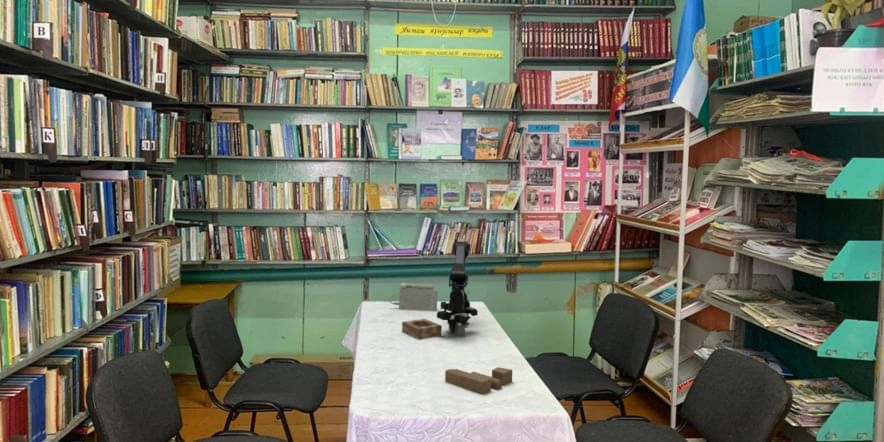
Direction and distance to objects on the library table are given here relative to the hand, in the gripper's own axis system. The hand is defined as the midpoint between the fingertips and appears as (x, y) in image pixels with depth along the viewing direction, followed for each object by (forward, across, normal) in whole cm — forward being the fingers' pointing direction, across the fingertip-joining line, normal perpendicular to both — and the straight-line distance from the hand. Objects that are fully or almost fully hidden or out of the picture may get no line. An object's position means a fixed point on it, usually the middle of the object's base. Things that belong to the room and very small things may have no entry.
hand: (456, 332), depth 271 cm
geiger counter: (+1, -7, -50) cm, 51 cm away
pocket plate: (+1, +13, -9) cm, 16 cm away
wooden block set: (+2, +28, +53) cm, 60 cm away
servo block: (+1, 0, 0) cm, 1 cm away
